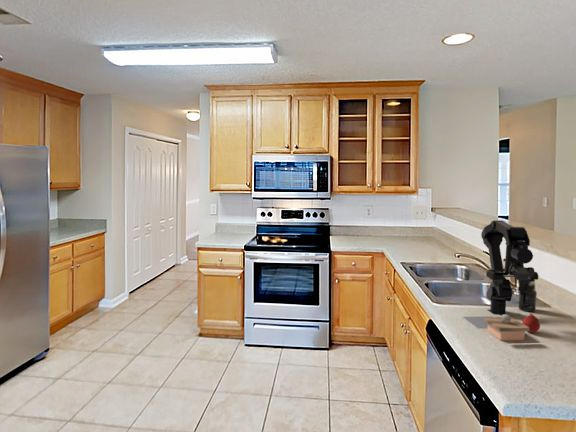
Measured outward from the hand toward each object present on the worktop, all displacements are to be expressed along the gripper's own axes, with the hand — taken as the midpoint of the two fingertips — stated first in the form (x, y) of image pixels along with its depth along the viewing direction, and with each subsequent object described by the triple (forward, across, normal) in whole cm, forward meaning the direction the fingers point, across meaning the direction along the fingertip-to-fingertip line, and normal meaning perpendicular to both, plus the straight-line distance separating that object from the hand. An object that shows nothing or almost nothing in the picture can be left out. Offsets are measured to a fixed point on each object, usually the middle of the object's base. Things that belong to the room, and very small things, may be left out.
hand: (510, 295), depth 171 cm
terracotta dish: (+12, -10, -14) cm, 21 cm away
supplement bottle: (+12, +18, +16) cm, 27 cm away
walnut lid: (+7, -10, -14) cm, 18 cm away
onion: (+12, +2, -11) cm, 16 cm away
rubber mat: (+12, -10, 0) cm, 15 cm away
